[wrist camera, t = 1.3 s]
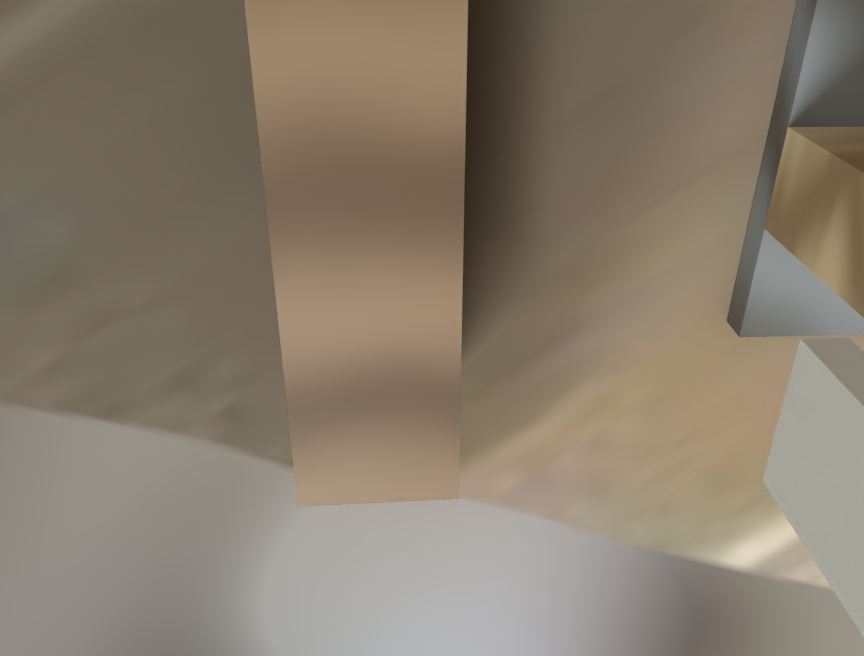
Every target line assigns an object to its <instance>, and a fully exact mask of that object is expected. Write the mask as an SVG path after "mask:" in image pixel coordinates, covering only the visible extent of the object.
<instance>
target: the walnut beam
mask: <svg viewBox="0 0 864 656" xmlns="http://www.w3.org/2000/svg"><path fill="white" fill-rule="evenodd" d="M244 3H245V13H246V22H247V32H248V41H249V50H250V60H251V69H252V79H253V88H254V98H255V107H256V117H257V126H258V136H259V145H260V154H261V164H262V173H263V183H264V192H265V202H266V211H267V221H268V230H269V240H270V249H271V258H272V268H273V277H274V287H275V296H276V306H277V315H278V325H279V334H280V344H281V353H282V362H283V372H284V381H285V391H286V400H287V410H288V419H289V429H290V438H291V448H292V457H293V466H294V476H295V485H296V495H297V504H298V506H317V505H340V504H361V503H382V502H402V501H403V502H404V501H423V500H446V499H459V451H460V399H461V347H462V295H463V243H464V191H465V138H466V86H467V34H468V0H244Z"/></svg>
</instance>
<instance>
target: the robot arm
mask: <svg viewBox="0 0 864 656" xmlns="http://www.w3.org/2000/svg"><path fill="white" fill-rule="evenodd" d="M763 482H764V484H765V485H766V487H767V489H768V490H769V492H770V493H771V495H772V496H773V498H774V499H775V501H776V502H777V504H778V505H779V507H780V509H781V510H782V512H783V513H784V515H785V516H786V518H787V519H788V521H789V522H790V524H791V526H792V527H793V529H794V530H795V532H796V533H797V535H798V536H799V538H800V539H801V541H802V542H803V544H804V546H805V547H806V549H807V550H808V552H809V553H810V555H811V556H812V558H813V559H814V561H815V563H816V564H817V566H818V567H819V569H820V570H821V572H822V573H823V575H824V576H825V578H826V579H827V581H828V583H829V584H830V586H831V587H832V589H833V590H834V592H835V593H836V595H837V596H838V598H839V599H840V601H841V603H842V604H843V605H844V607H845V609H846V610H847V612H848V613H849V615H850V616H851V618H852V619H853V621H854V622H855V624H856V626H857V627H858V629H859V630H860V631H861V633H862V635H863V636H864V352H863V351H862V350H861V349H860V348H859V347H858V346H857V345H855V344H854V343H853V342H852V341H851V340H850V339H849V338H823V339H800V343H799V346H798V350H797V354H796V357H795V361H794V365H793V369H792V372H791V376H790V380H789V384H788V387H787V391H786V395H785V399H784V402H783V406H782V410H781V414H780V417H779V421H778V425H777V429H776V432H775V436H774V440H773V444H772V447H771V451H770V455H769V459H768V462H767V466H766V470H765V473H764V477H763Z"/></svg>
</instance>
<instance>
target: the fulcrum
mask: <svg viewBox="0 0 864 656" xmlns="http://www.w3.org/2000/svg"><path fill="white" fill-rule="evenodd" d="M727 322H728V323H729V325H730V326H731V327H732V328H733V330H734V331H735V332H736V333H737V335H738V336H739V337H767V336H821V335H864V0H798V1H797V5H796V10H795V14H794V19H793V24H792V28H791V33H790V37H789V42H788V46H787V51H786V55H785V60H784V64H783V69H782V74H781V78H780V83H779V87H778V92H777V96H776V101H775V105H774V110H773V114H772V119H771V123H770V128H769V133H768V137H767V142H766V146H765V151H764V155H763V160H762V164H761V169H760V173H759V178H758V182H757V187H756V192H755V196H754V201H753V205H752V210H751V214H750V219H749V223H748V228H747V232H746V237H745V241H744V246H743V251H742V255H741V260H740V264H739V269H738V273H737V278H736V282H735V287H734V291H733V296H732V300H731V305H730V310H729V314H728V319H727Z"/></svg>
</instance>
